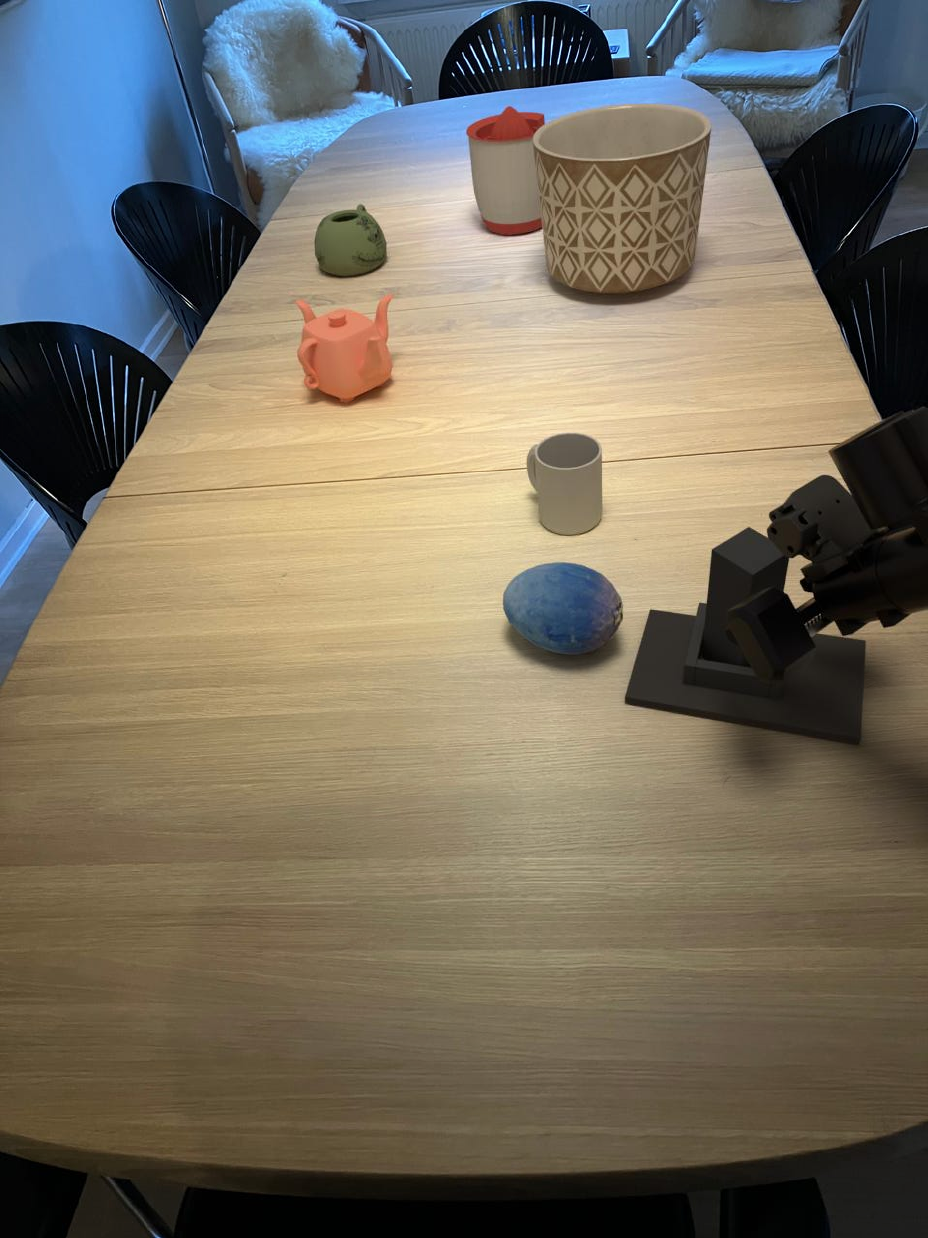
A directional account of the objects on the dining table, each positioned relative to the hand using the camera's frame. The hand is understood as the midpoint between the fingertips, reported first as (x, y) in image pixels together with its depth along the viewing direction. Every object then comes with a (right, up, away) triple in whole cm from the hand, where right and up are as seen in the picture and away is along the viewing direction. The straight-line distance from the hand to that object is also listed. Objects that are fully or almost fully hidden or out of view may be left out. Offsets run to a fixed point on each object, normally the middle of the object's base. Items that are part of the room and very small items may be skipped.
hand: (766, 609), depth 79 cm
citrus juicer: (-15, +73, +94) cm, 120 cm away
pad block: (-1, -4, +7) cm, 8 cm away
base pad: (0, -6, +7) cm, 9 cm away
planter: (0, +55, +72) cm, 91 cm away
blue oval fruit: (-14, -3, +12) cm, 19 cm away
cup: (-15, +11, +28) cm, 33 cm away
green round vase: (-45, +64, +89) cm, 118 cm away
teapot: (-41, +34, +56) cm, 77 cm away
